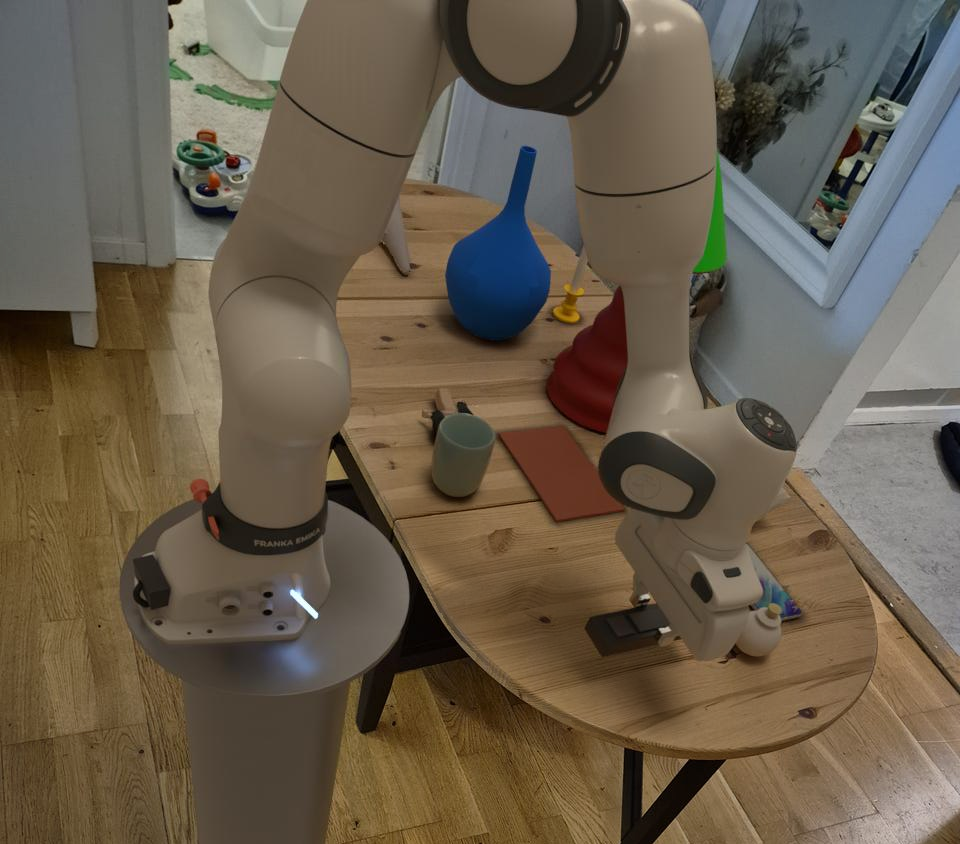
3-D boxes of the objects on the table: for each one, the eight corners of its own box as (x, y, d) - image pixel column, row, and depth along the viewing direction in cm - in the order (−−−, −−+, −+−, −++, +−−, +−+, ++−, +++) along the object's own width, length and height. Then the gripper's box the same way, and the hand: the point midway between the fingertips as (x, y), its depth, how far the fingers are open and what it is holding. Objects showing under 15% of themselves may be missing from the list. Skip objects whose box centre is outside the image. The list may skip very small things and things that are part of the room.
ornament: (718, 632, 112) (751, 581, 104) (763, 627, 114) (799, 578, 107) (737, 667, 108) (774, 618, 101) (784, 662, 111) (823, 614, 103)
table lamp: (678, 420, 143) (810, 140, 109) (600, 449, 133) (720, 150, 99) (601, 358, 151) (703, 78, 117) (522, 381, 141) (608, 81, 107)
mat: (556, 522, 119) (556, 519, 119) (498, 435, 129) (498, 432, 129) (623, 511, 124) (624, 508, 124) (562, 428, 134) (563, 425, 134)
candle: (579, 325, 157) (606, 245, 145) (553, 320, 156) (577, 238, 144) (578, 311, 160) (603, 232, 148) (552, 306, 159) (576, 225, 148)
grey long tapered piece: (448, 254, 154) (401, 173, 165) (406, 254, 150) (360, 170, 161) (438, 291, 160) (393, 210, 171) (397, 291, 157) (354, 208, 167)
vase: (532, 308, 157) (579, 139, 135) (539, 362, 145) (592, 187, 123) (437, 290, 154) (469, 114, 131) (437, 344, 142) (472, 160, 120)
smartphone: (746, 540, 124) (805, 613, 116) (743, 544, 125) (801, 617, 117) (708, 545, 121) (766, 621, 113) (706, 549, 122) (763, 625, 114)
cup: (491, 491, 120) (507, 436, 113) (455, 512, 116) (469, 456, 108) (452, 462, 123) (466, 406, 115) (416, 481, 118) (427, 424, 111)
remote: (601, 658, 96) (609, 644, 95) (583, 628, 99) (590, 615, 97) (701, 635, 103) (709, 622, 101) (681, 607, 105) (689, 595, 103)
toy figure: (408, 405, 130) (441, 464, 121) (418, 370, 125) (453, 427, 117) (448, 408, 133) (484, 464, 124) (459, 373, 129) (497, 429, 120)
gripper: (626, 480, 93) (587, 565, 104) (726, 614, 83) (671, 694, 93) (671, 475, 96) (628, 558, 106) (773, 604, 85) (714, 683, 96)
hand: (649, 623), depth 99 cm, fingers closed on remote, 4 cm apart
